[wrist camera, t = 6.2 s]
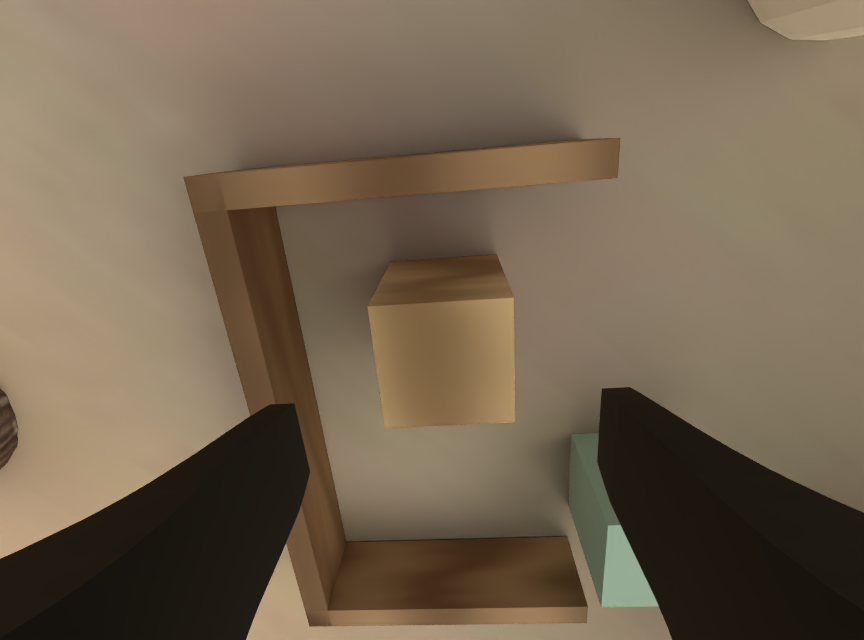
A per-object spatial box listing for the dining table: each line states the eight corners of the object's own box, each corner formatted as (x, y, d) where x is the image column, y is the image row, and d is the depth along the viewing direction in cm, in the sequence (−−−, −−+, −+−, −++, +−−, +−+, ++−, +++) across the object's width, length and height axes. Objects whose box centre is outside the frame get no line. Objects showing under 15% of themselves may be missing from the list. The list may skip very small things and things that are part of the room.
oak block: (496, 254, 16) (513, 297, 12) (498, 350, 18) (515, 422, 13) (390, 261, 17) (367, 306, 12) (401, 355, 18) (384, 428, 14)
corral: (583, 139, 15) (620, 138, 11) (566, 551, 22) (586, 622, 19) (239, 169, 16) (183, 176, 12) (330, 557, 23) (309, 626, 19)
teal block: (664, 429, 19) (733, 522, 14) (655, 500, 20) (714, 605, 16) (570, 433, 19) (608, 525, 15) (568, 503, 21) (601, 607, 16)
